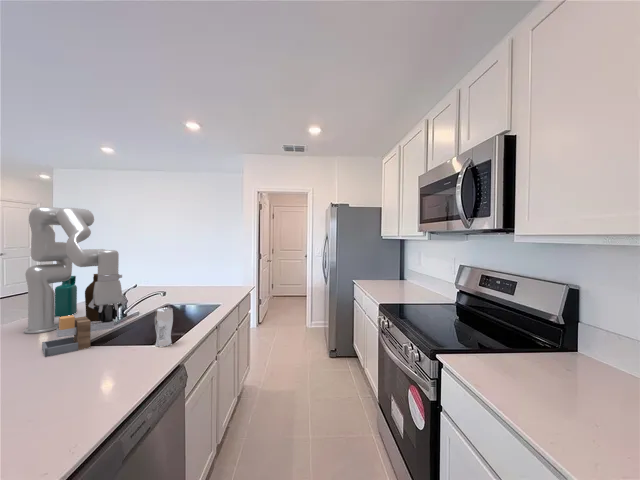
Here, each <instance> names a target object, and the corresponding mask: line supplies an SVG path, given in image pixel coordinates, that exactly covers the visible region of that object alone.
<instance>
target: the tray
mask: <svg viewBox="0 0 640 480" xmlns="http://www.w3.org/2000/svg"><path fill="white" fill-rule="evenodd" d="M41 350H42V353H43V356H44V357H45V358H47V357H53V356H58V355H61V354H68V353H72V352H76V351H77V352H78V351H79V350H78V342H77V343H74V336H67V337H62V338H58V339H52V340H47V341H42V343H41Z"/></svg>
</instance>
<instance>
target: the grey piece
mask: <svg viewBox="0 0 640 480" xmlns="http://www.w3.org/2000/svg"><path fill="white" fill-rule="evenodd" d="M113 308H114V307H113V304H108V305H103V308H102V312H103V321H102V322H101V321H94V322H91V329H90V333H93V332H99V331H104V330H110V329H114V328H115V320H114V319H113ZM76 334H77V326H75V328H70V329H64V330H60V329H59V327H58V328H57V329H56V338H58V339H60V338H66V337H71V336H74V335H76Z"/></svg>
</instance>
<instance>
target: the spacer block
mask: <svg viewBox="0 0 640 480" xmlns="http://www.w3.org/2000/svg"><path fill="white" fill-rule="evenodd" d="M75 318H76V317H75V316H74V315H70V316H61V317H58V325H59V327H58V328H59V329H60V330H64V329H70V328H75Z"/></svg>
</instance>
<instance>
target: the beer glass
mask: <svg viewBox="0 0 640 480" xmlns="http://www.w3.org/2000/svg"><path fill="white" fill-rule="evenodd" d="M173 311H174V310H173V308H172V307H161V308H160V307H159V308H157V309H155V313H154V326H155V327H154V328H155V334H156V341H155V347H157V346H165V347H168V346H171V345H172V344H173V343H172V335H171V334H172V329H173V324H174V323H173V322H174V312H173Z"/></svg>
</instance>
